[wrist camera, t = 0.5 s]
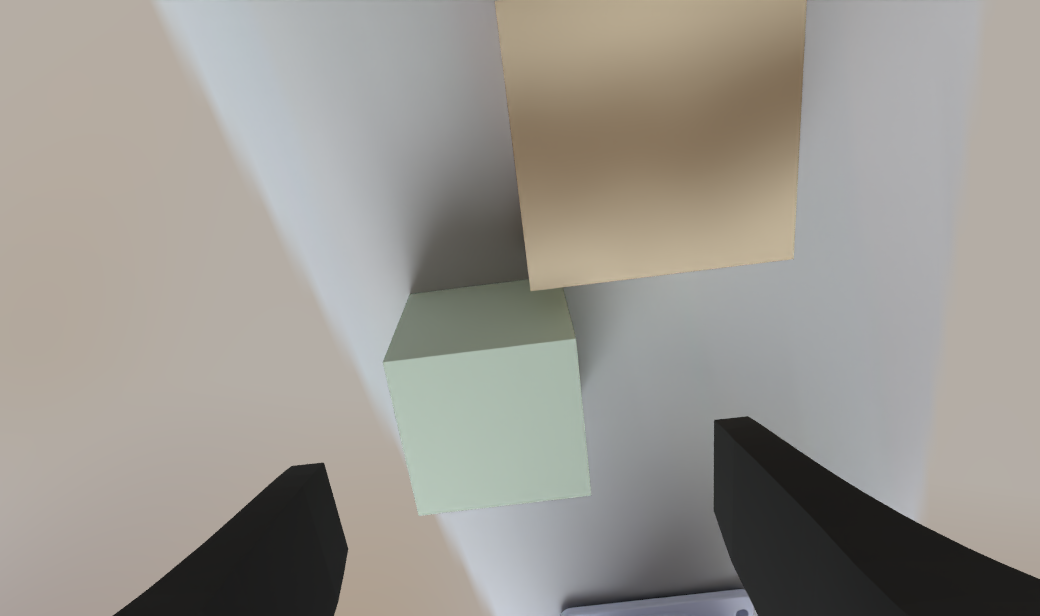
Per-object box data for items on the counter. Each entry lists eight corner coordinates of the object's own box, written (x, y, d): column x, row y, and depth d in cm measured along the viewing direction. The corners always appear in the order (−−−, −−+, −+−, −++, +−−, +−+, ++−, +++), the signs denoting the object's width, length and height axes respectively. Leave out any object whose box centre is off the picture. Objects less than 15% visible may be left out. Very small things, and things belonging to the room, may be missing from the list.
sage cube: (573, 404, 22) (591, 495, 18) (436, 420, 22) (419, 515, 18) (559, 274, 20) (575, 338, 16) (410, 293, 20) (382, 362, 16)
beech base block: (739, 221, 20) (793, 259, 16) (525, 248, 20) (530, 291, 16) (743, -21, 17) (808, -42, 14) (496, 13, 17) (494, 0, 14)
